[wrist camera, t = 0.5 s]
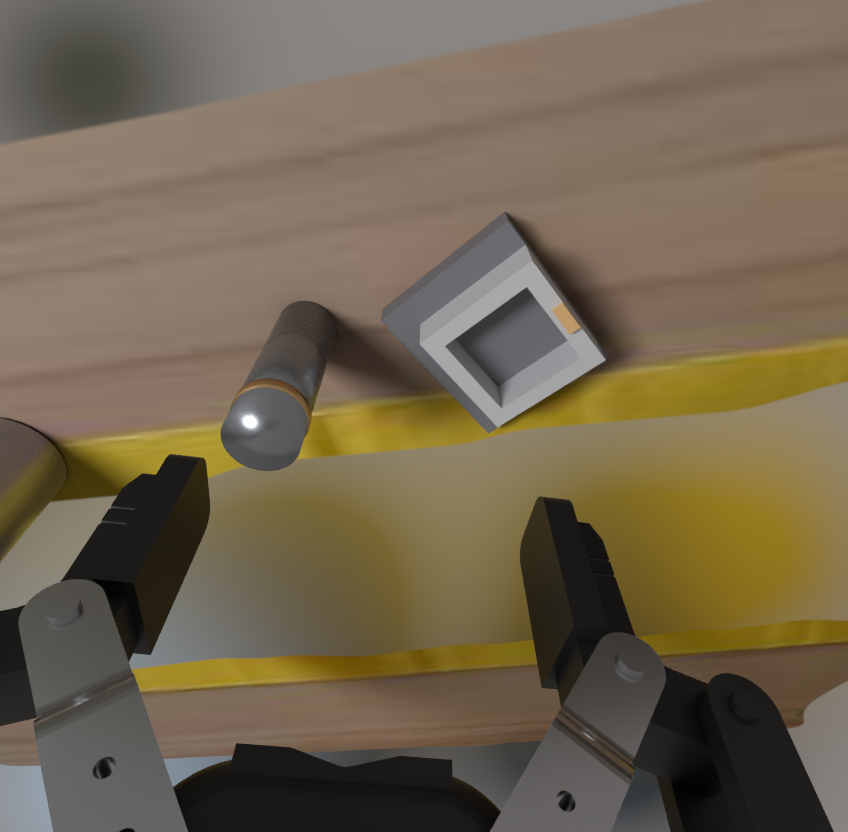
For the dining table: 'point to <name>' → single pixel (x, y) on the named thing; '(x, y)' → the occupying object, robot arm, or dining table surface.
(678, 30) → the dining table surface
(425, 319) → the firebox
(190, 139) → the dining table surface
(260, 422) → the metal canister
